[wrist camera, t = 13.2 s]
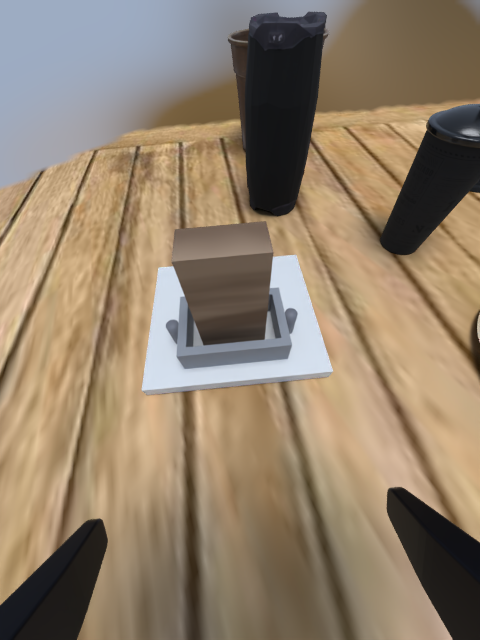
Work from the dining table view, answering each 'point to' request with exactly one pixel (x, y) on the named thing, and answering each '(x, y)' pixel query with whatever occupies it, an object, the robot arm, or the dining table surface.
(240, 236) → the wooden rectangular pillar
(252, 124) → the portable speaker
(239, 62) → the plant pot
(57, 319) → the dining table surface
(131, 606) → the dining table surface
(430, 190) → the drinking cup
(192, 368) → the white base with frame
